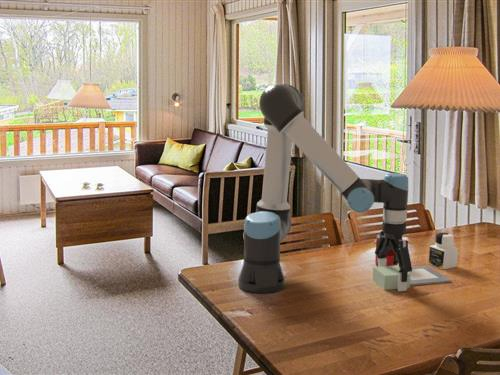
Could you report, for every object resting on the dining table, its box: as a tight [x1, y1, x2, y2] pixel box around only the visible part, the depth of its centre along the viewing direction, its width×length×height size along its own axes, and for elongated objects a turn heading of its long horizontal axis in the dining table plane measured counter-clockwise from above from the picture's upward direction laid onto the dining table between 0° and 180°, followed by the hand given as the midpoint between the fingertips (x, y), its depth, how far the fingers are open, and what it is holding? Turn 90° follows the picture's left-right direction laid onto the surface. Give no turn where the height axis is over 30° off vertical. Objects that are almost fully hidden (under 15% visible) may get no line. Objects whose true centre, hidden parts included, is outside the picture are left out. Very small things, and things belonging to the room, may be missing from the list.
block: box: [372, 265, 411, 291], centre depth 193 cm, size 9×9×5 cm
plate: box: [408, 264, 453, 287], centre depth 202 cm, size 16×16×1 cm
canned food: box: [374, 233, 399, 267], centre depth 212 cm, size 8×8×11 cm
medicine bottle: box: [428, 232, 459, 270], centre depth 212 cm, size 7×7×12 cm
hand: (391, 283), depth 194 cm, fingers open, 13 cm apart
